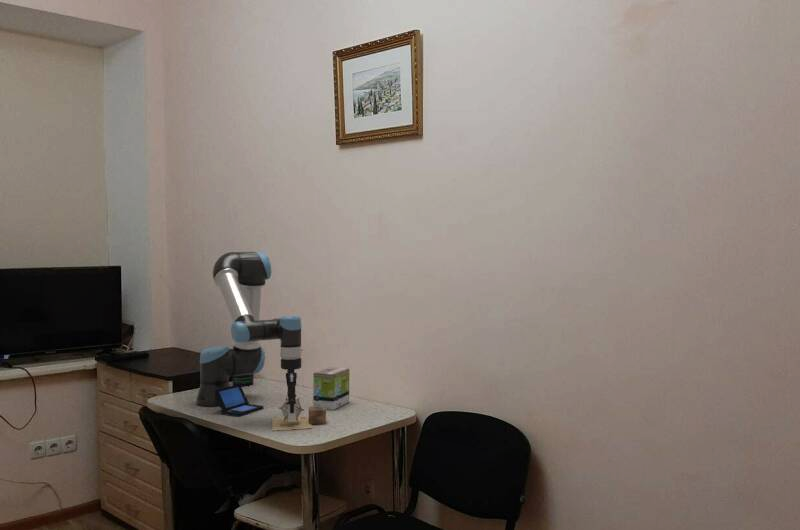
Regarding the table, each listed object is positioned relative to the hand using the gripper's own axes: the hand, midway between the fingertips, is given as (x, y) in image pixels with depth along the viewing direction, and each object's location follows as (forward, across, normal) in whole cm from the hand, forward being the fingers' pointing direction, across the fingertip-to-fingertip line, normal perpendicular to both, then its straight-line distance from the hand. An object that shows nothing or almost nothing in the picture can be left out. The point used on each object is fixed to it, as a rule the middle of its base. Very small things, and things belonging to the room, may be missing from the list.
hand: (291, 418), depth 242 cm
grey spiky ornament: (+1, 0, 0) cm, 1 cm away
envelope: (+2, 0, 0) cm, 2 cm away
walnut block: (+2, 0, -9) cm, 9 cm away
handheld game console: (+2, +25, +20) cm, 32 cm away
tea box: (+2, +26, -17) cm, 31 cm away
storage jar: (+2, +78, +21) cm, 81 cm away
